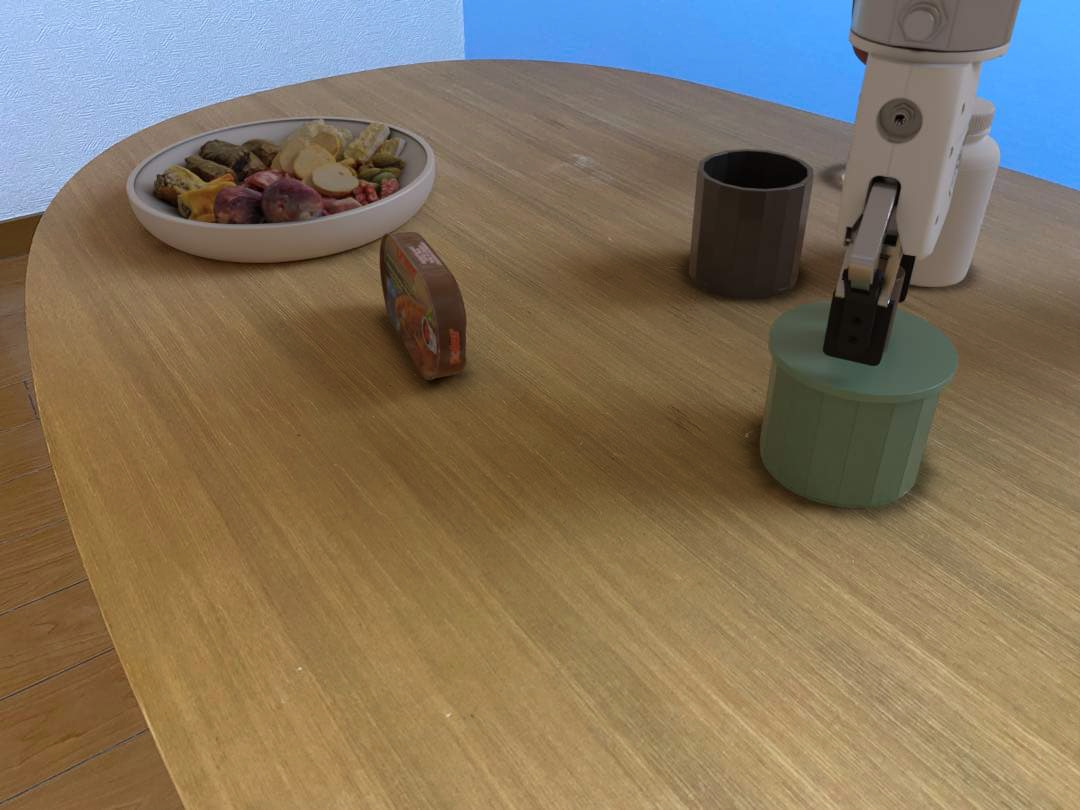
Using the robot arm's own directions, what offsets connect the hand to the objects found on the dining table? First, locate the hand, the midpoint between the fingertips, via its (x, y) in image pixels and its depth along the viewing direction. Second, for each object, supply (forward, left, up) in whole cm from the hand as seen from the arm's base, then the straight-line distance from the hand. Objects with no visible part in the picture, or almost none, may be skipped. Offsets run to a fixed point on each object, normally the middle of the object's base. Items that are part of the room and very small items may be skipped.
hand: (865, 324), depth 56 cm
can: (0, 0, -10) cm, 10 cm away
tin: (+16, -28, -11) cm, 34 cm away
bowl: (+15, -60, -11) cm, 63 cm away
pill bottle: (-27, -15, -11) cm, 33 cm away
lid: (0, 0, -2) cm, 2 cm away
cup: (-13, -23, -10) cm, 28 cm away
